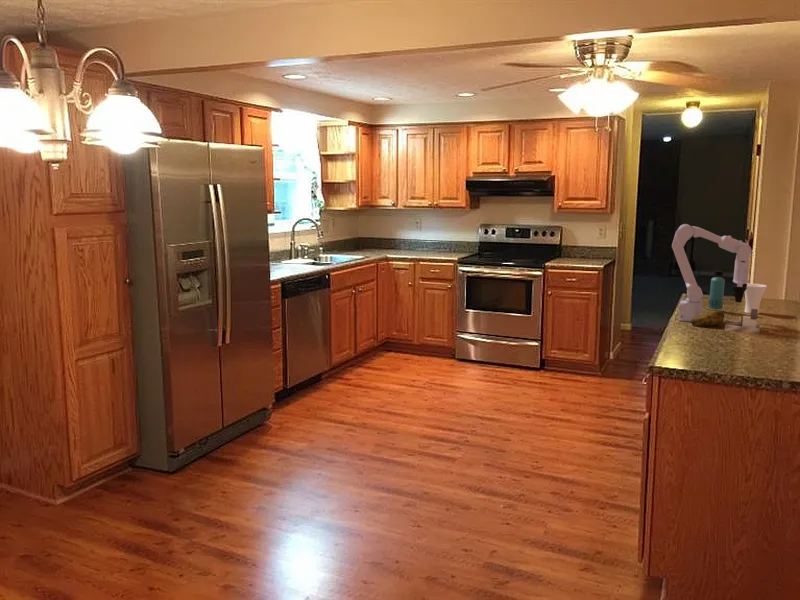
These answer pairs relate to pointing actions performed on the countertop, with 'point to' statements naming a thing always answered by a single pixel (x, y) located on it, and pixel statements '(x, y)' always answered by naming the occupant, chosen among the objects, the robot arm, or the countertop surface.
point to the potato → (709, 319)
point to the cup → (753, 296)
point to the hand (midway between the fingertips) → (738, 300)
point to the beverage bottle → (716, 291)
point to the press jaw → (750, 319)
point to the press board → (737, 327)
